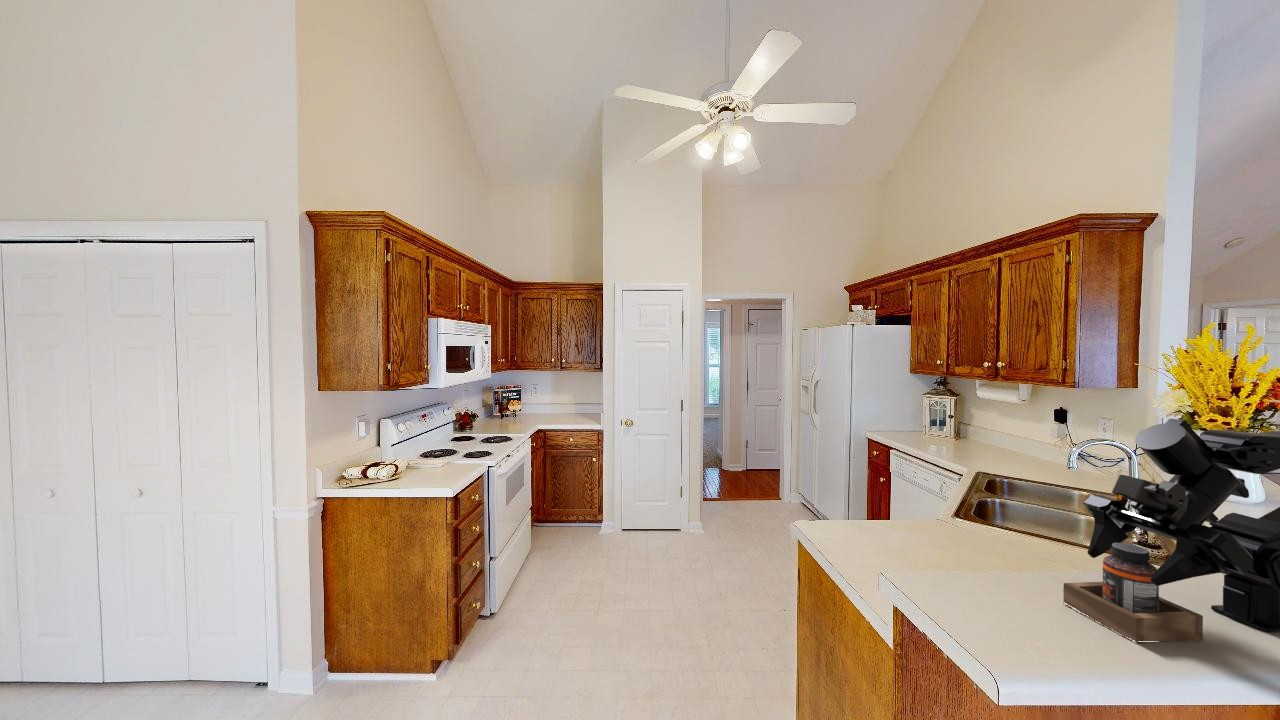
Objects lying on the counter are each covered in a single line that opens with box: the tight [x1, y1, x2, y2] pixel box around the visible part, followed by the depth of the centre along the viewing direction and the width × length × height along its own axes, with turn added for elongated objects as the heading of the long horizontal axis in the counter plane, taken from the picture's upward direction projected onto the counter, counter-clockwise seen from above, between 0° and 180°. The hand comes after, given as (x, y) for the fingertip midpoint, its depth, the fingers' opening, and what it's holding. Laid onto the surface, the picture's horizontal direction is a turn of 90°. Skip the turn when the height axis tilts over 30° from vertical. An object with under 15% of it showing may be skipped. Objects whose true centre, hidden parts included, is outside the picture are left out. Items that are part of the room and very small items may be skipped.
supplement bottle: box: [1102, 542, 1160, 613], centre depth 72 cm, size 6×6×11 cm
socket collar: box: [1063, 581, 1204, 642], centre depth 72 cm, size 10×10×4 cm
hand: (1120, 568), depth 72 cm, fingers open, 9 cm apart
